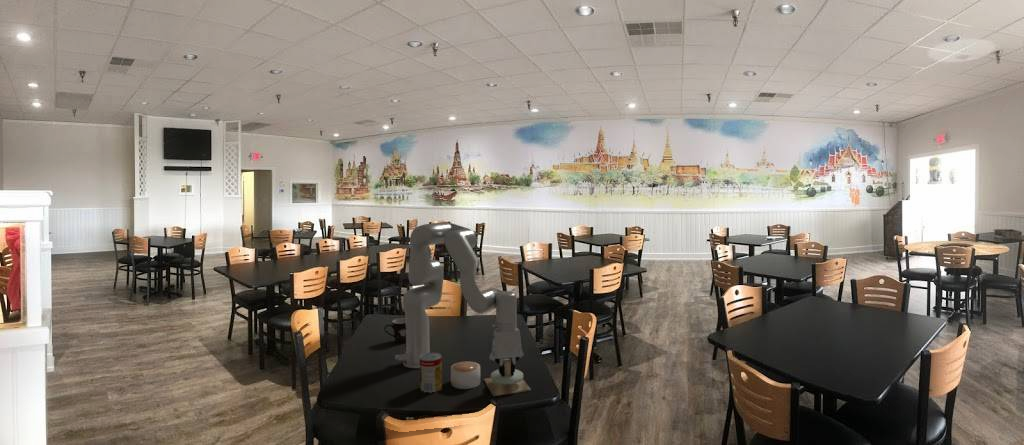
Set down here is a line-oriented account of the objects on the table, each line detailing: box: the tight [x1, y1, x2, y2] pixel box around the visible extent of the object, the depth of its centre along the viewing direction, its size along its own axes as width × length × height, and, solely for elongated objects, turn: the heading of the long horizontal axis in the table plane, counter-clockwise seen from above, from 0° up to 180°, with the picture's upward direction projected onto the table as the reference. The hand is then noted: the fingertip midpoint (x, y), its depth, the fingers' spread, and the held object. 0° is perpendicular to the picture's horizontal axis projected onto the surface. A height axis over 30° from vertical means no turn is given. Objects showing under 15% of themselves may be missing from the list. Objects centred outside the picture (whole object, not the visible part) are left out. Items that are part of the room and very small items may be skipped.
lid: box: [490, 358, 524, 384], centre depth 175 cm, size 12×12×6 cm
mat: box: [483, 377, 532, 397], centre depth 176 cm, size 14×14×1 cm
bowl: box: [450, 361, 481, 390], centre depth 178 cm, size 11×11×6 cm
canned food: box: [419, 352, 443, 394], centre depth 173 cm, size 8×8×12 cm
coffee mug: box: [383, 317, 406, 345], centre depth 224 cm, size 12×9×10 cm
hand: (506, 374), depth 175 cm, fingers closed on lid, 3 cm apart
